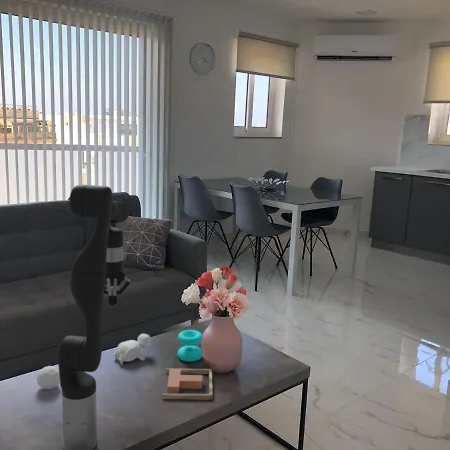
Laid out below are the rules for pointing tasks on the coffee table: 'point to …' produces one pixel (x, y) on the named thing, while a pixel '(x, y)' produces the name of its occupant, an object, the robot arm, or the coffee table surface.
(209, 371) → the frame
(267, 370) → the coffee table surface
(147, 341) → the white animal figure
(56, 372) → the geometric ball
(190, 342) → the donuts
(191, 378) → the t piece
